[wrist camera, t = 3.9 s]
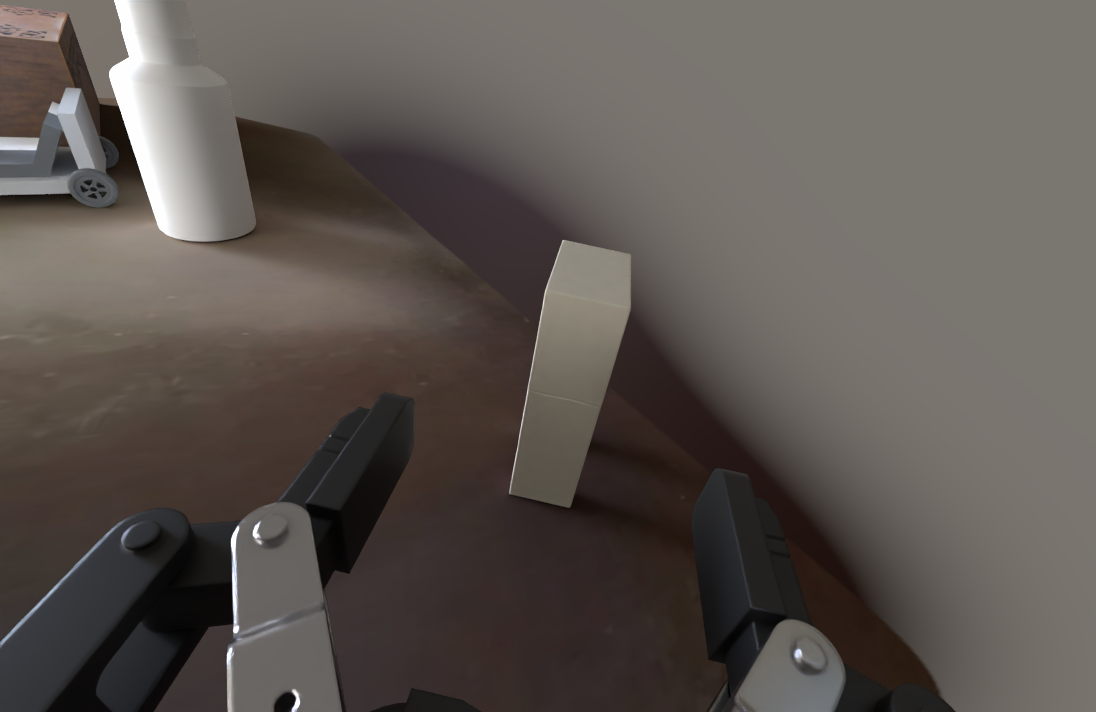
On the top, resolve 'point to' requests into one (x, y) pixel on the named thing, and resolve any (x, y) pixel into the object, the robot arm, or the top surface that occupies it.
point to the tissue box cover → (39, 70)
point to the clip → (571, 369)
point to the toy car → (61, 157)
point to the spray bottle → (181, 125)
